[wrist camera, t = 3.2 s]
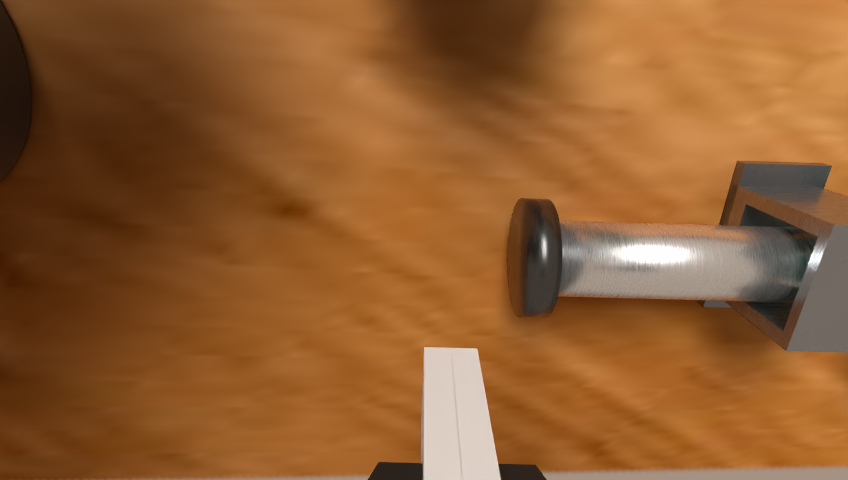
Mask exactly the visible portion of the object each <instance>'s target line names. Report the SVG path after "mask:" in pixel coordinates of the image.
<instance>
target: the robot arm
mask: <svg viewBox="0 0 848 480" xmlns="http://www.w3.org/2000/svg"><path fill="white" fill-rule="evenodd" d="M30 116H31V91H30V82H29V76H28V71H27V66H26V62H25V58H24V55H23V52H22V48H21V45H20V43H19V40H18V37H17V35H16V32H15V30H14V28H13V25H12V23H11V21H10V19H9V17H8V15H7V13H6V11H5V9H4V7H3V6H2V4H1V2H0V181H1V180H2V179H3V178H4V177H5V176H6V175H7V174H8V173H9V171H10V170H11V169H12V167H13V166H14V164H15V163H16V161H17V159H18V158H19V156H20V154H21V152H22V149H23V147H24V144H25V141H26V138H27V134H28V130H29V124H30ZM368 480H546V478H545V477H544V476H543V474H542V473H541V472H540V470H539V469H538V468H537V466H536V465H519V464H498V461H497V456H496V450H495V445H494V439H493V433H492V428H491V422H490V417H489V411H488V406H487V400H486V395H485V389H484V384H483V378H482V373H481V367H480V362H479V356H478V351H477V349H473V348H438V347H424V365H423V391H422V418H421V463H389V462H379V463H378V464H377V466H376V467H375V469H374V471H373V472H372V474H371V475H370V477H369V479H368Z"/></svg>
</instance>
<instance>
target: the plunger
mask: <svg viewBox="0 0 848 480" xmlns="http://www.w3.org/2000/svg"><path fill="white" fill-rule="evenodd" d="M817 238H818V236H816V235H813V234H811V233H809V232H807V231H805V230H802V229H800V228H796V227H761V226H726V225H691V224H656V223H621V222H586V221H559V218H558V214H557V211H556V208H555V206H554V204H553V203H552V202H551V201H550V200H548V199H525V198H521V199H519V200H518V201H517V203H516V205H515V207H514V210H513V213H512V218H511V223H510V229H509V237H508V250H507V275H508V288H509V295H510V300H511V305H512V308H513V310H514V313H515V314H516V315H517V316H518V317H548V316H549V315H550V314H551V313H552V311H553V309H554V307H555V304H556V301H557V298H558V296H565V297H603V298H641V299H679V300H718V301H756V302H794V301H795V298H796V295H797V292H798V290H799V287H800V284H801V282H802V279H803V276H804V273H805V271H806V268H807V265H808V263H809V260H810V257H811V255H812V252H813V249H814V246H815V244H816V241H817Z"/></svg>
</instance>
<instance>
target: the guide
mask: <svg viewBox="0 0 848 480" xmlns="http://www.w3.org/2000/svg"><path fill="white" fill-rule="evenodd" d="M831 167H832V166H830V165H826V164H822V163H789V162H757V161H737V165H736V168H735V172H734V175H733V179H732V182H731V186H730V190H729V193H728V197H727V200H726V204H725V207H724V211H723V214H722V218H721V221H720V225H726V226H761V227H796V228H800V229H802V230H805V231H807V232H809V233H811V234H813V235H816V236H818V238H817V241H816V244H815V246H814V249H813V252H812V255H811V257H810V260H809V263H808V265H807V268H806V271H805V273H804V276H803V279H802V282H801V284H800V287H799V290H798V292H797V295H796V298H795V301H794V302H756V301H718V300H698V303H699V304H700V305H702V306H703V307H715V308H733V309H735V310H736V311H737V312H738V313H740V314H741V315H742V316H743V317H745V318H746V319H747V320H748V321H750V322H751V323H752V324H753V325H755V326H756V327H757V328H758V329H760V330H761V331H762V332H763V333H765V334H766V335H767V336H768V337H770V338H771V339H772V340H773V341H775V342H776V343H777V344H778V345H779V346H781V347H782V348H783V349H784V350H786V351H808V352H848V196H845V195H842V194H838V193H835V192H832V191H829V190H826V189H824V186H825V183H826V181H827V178H828V175H829V172H830V170H831Z"/></svg>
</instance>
